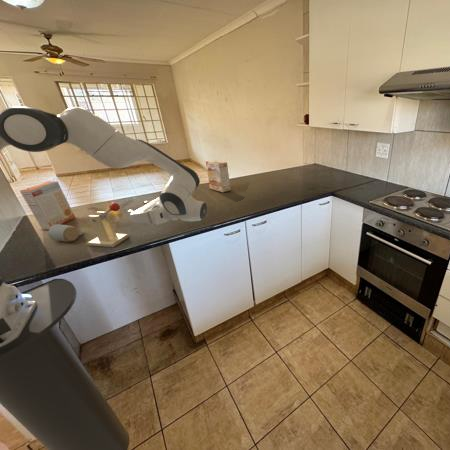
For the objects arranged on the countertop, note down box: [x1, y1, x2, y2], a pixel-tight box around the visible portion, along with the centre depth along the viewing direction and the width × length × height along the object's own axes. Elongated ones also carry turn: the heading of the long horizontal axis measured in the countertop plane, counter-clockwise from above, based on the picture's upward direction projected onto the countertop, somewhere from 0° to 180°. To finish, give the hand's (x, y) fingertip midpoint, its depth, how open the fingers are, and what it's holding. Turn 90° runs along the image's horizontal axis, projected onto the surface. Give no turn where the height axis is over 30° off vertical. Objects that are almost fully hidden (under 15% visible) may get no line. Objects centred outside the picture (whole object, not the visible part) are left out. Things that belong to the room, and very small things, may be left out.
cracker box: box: [19, 180, 76, 230], centre depth 124 cm, size 14×6×21 cm, turn 178°
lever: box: [96, 202, 121, 220], centre depth 105 cm, size 14×4×4 cm, turn 81°
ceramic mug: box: [47, 224, 84, 243], centre depth 113 cm, size 11×8×8 cm
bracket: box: [87, 210, 129, 248], centre depth 110 cm, size 12×9×14 cm
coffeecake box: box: [205, 159, 231, 193], centre depth 170 cm, size 15×7×20 cm, turn 53°
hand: (137, 207), depth 102 cm, fingers open, 8 cm apart
